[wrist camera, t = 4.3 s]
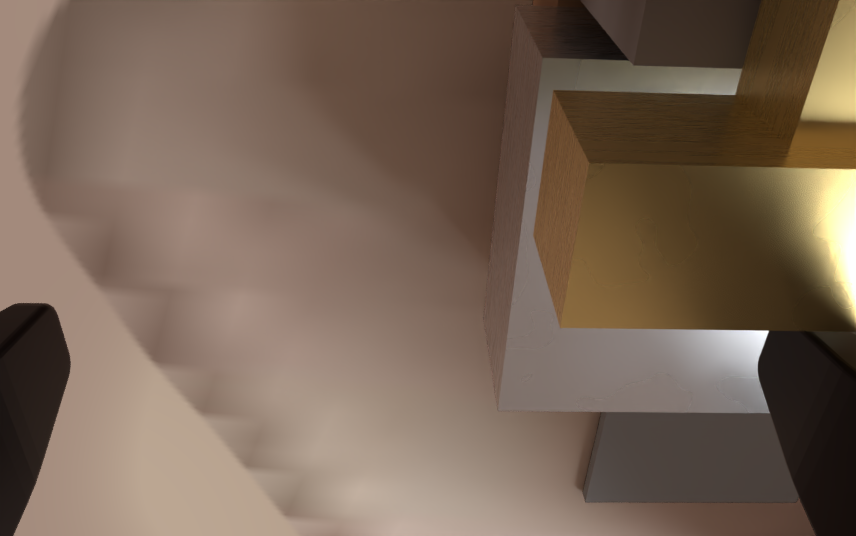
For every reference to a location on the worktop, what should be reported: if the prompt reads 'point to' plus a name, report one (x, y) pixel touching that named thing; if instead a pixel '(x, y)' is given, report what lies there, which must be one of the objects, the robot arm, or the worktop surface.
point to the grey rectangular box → (522, 270)
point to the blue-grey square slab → (688, 459)
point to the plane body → (675, 29)
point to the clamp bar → (712, 191)
